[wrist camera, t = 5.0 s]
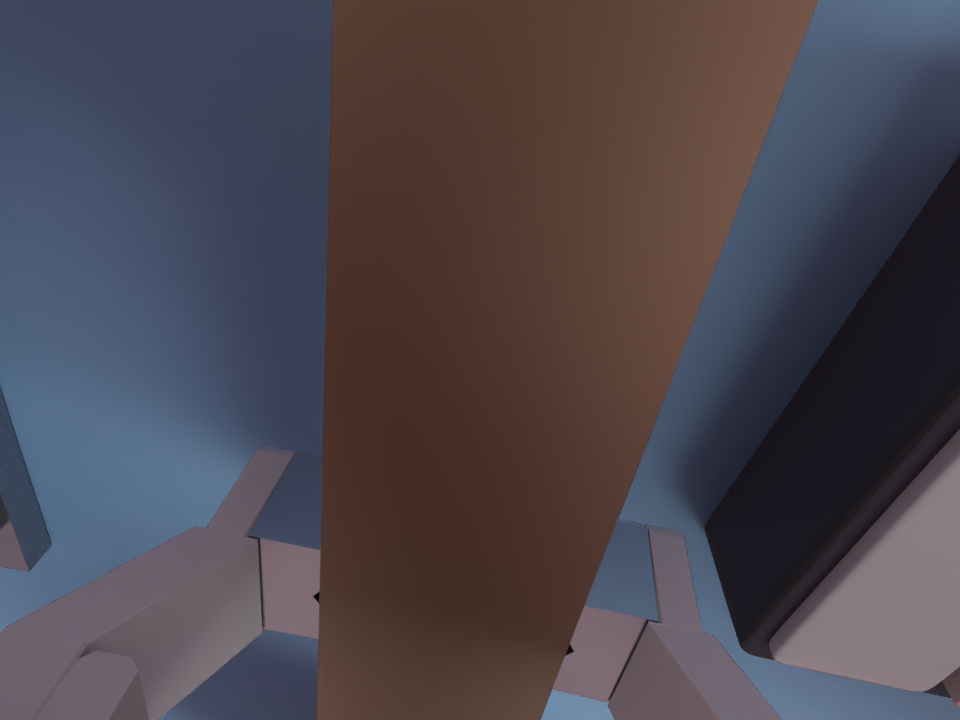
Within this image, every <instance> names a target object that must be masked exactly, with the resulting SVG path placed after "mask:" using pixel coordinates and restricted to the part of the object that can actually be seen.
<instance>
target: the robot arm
mask: <svg viewBox="0 0 960 720" xmlns="http://www.w3.org/2000/svg"><path fill="white" fill-rule="evenodd" d="M322 467H323V458H319V457H315V456H311V455H306V454H302V453H294V452H290V451H286V450H282V449H277V448H273V447H269V446H265V445H264V446H263V447H262V448H260V449H259V450H258V451H256V452H255V453H254V455H253V457H252V458H251V460H250V461H249V463H248V464H247V466H246V467H245V469H244V470H243V472H242V473H241V475H240V476H239V478H238V480H237V481H236V483H235V484H234V486H233V487H232V489H231V490H230V492H229V493H228V495H227V496H226V498H225V499H224V501H223V503H222V504H221V506H220V507H219V509H218V510H217V512H216V513H215V515H214V516H213V518H212V519H211V521H210V522H209V524H208V525H207V527H206V528H202V527H197V526H195V527H193V528H191V529H189V530H187V531H185V532H183V533H181V534H180V535H178V536H176V537H174V538H172V539H170V540H168V541H166V542H165V543H163V544H161V545H159V546H157V547H155V548H153V549H151V550H149V551H148V552H146V553H144V554H142V555H140V556H138V557H136V558H134V559H133V560H131V561H129V562H127V563H125V564H123V565H121V566H119V567H118V568H116V569H114V570H112V571H110V572H108V573H106V574H104V575H102V576H101V577H99V578H97V579H95V580H93V581H91V582H89V583H87V584H86V585H84V586H82V587H80V588H78V589H76V590H74V591H72V592H70V593H69V594H67V595H65V596H63V597H61V598H59V599H57V600H55V601H54V602H52V603H50V604H48V605H46V606H44V607H42V608H40V609H39V610H37V611H35V612H33V613H31V614H29V615H27V616H25V617H23V618H22V619H20V620H18V621H16V622H14V623H12V624H10V625H8V626H7V627H6V628H5V629H4V630H3V631H2V632H1V634H0V720H159V719H160V718H161V717H163V716H164V715H165V714H166V713H167V712H168V711H170V710H171V709H172V708H173V707H174V706H176V705H177V704H178V703H179V702H180V701H182V700H183V699H184V698H185V697H186V696H188V695H189V694H190V693H191V692H192V691H194V690H195V689H196V688H197V687H198V686H200V685H201V684H202V683H203V682H204V681H206V680H207V679H208V678H209V677H210V676H211V675H213V674H214V673H215V672H216V671H217V670H219V669H220V668H221V667H222V666H223V665H225V664H226V663H227V662H228V661H229V660H231V659H232V658H233V657H234V656H235V655H237V654H238V653H239V652H240V651H241V650H243V649H244V648H245V647H246V646H247V645H248V644H250V643H251V642H252V641H253V640H254V639H256V638H257V637H258V636H259V635H260V634H262V629H266V630H271V631H277V632H282V633H288V634H293V635H299V636H304V637H310V638H315V639H318V637H319V594H320V552H321V509H322ZM553 689H554V690H558V691H562V692H567V693H571V694H575V695H579V696H583V697H587V698H591V699H595V700H600V701H604V702H608V703H609V704H608V707H609V709H610V711H611V713H612V715H613V717H614V719H615V720H782V719H781V717H780V716H779V715H778V714H777V713H776V711H775V710H774V709H773V708H772V706H771V705H770V704H769V703H768V701H767V700H766V699H765V698H764V697H763V695H762V694H761V693H760V692H759V690H758V689H757V688H756V687H755V685H754V684H753V683H752V682H751V681H750V679H749V678H748V677H747V676H746V674H745V673H744V672H743V671H742V669H741V668H740V667H739V666H738V665H737V663H736V662H735V661H734V660H733V658H732V657H731V656H730V655H729V653H728V652H727V651H726V650H725V649H724V647H723V646H722V645H721V644H720V642H719V641H718V640H717V639H716V637H715V636H714V635H711V634H707V633H703V632H702V628H701V622H700V617H699V612H698V606H697V601H696V596H695V590H694V585H693V580H692V575H691V569H690V564H689V559H688V553H687V548H686V543H685V538H684V536H683V534H682V533H681V532H680V531H677V530H672V529H667V528H661V527H656V526H651V525H646V524H645V525H643V524H640V523H635V522H630V521H625V520H620V519H618V520H617V523H616V525H615V528H614V530H613V533H612V536H611V538H610V541H609V543H608V546H607V549H606V551H605V554H604V556H603V559H602V562H601V564H600V567H599V569H598V572H597V575H596V577H595V580H594V582H593V585H592V587H591V590H590V593H589V595H588V598H587V600H586V603H585V606H584V608H583V611H582V613H581V616H580V619H579V621H578V624H577V626H576V629H575V632H574V634H573V637H572V639H571V642H570V644H569V647H568V650H567V652H566V655H565V657H564V660H563V663H562V665H561V668H560V670H559V673H558V676H557V678H556V681H555V683H554V686H553Z"/></svg>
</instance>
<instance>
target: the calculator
mask: <svg viewBox="0 0 960 720" xmlns="http://www.w3.org/2000/svg"><path fill="white" fill-rule="evenodd" d="M705 532H706V536H707V539H708V543H709V546H710V549H711V553H712V556H713V559H714V563H715V566H716V569H717V573H718V576H719V579H720V583H721V586H722V589H723V592H724V596H725V599H726V602H727V606H728V609H729V612H730V616H731V619H732V622H733V625H734V628H735V632H736V635H737V638H738V641H739V644H740V646H741V648H742V649H743V650H744V651H745V652H747V653H748V654H751V655H754V656H758V657H762V658H767V659H772V660H776V661H778V662H780V663H783V664H787V665H791V666H796V667H801V668H805V669H810V670H815V671H819V672H824V673H829V674H833V675H838V676H843V677H847V678H852V679H857V680H861V681H866V682H871V683H875V684H880V685H885V686H889V687H894V688H899V689H903V690H908V691H916V692H925V693H930V694H935V695H939V696H944V697H949V698H952V700H953V702H954V704H955V705H956V706H957V707H959V708H960V156H959V157H958V158H957V160H956V161H955V163H954V164H953V166H952V167H951V169H950V170H949V171H948V173H947V174H946V176H945V177H944V179H943V180H942V182H941V183H940V185H939V186H938V187H937V189H936V190H935V192H934V193H933V195H932V196H931V198H930V199H929V200H928V202H927V203H926V205H925V206H924V208H923V209H922V211H921V212H920V214H919V215H918V216H917V218H916V219H915V221H914V222H913V224H912V225H911V227H910V228H909V230H908V231H907V232H906V234H905V235H904V237H903V238H902V240H901V241H900V243H899V244H898V246H897V247H896V248H895V250H894V251H893V253H892V254H891V256H890V257H889V259H888V260H887V262H886V263H885V264H884V266H883V267H882V269H881V270H880V272H879V273H878V275H877V276H876V277H875V279H874V280H873V282H872V283H871V285H870V286H869V288H868V289H867V291H866V292H865V293H864V295H863V296H862V298H861V299H860V301H859V302H858V304H857V305H856V307H855V308H854V309H853V311H852V312H851V314H850V315H849V317H848V318H847V320H846V321H845V323H844V324H843V325H842V327H841V328H840V330H839V331H838V333H837V334H836V336H835V337H834V339H833V340H832V341H831V343H830V344H829V346H828V347H827V349H826V350H825V352H824V353H823V355H822V356H821V357H820V359H819V360H818V362H817V363H816V365H815V366H814V368H813V369H812V371H811V372H810V373H809V375H808V376H807V378H806V379H805V381H804V382H803V384H802V385H801V387H800V388H799V389H798V391H797V392H796V394H795V395H794V397H793V398H792V400H791V401H790V402H789V404H788V405H787V407H786V408H785V410H784V411H783V413H782V414H781V416H780V417H779V418H778V420H777V421H776V423H775V424H774V426H773V427H772V429H771V430H770V432H769V433H768V434H767V436H766V437H765V439H764V440H763V442H762V443H761V445H760V446H759V448H758V449H757V450H756V452H755V453H754V455H753V456H752V458H751V459H750V461H749V462H748V464H747V465H746V466H745V468H744V469H743V471H742V472H741V474H740V475H739V477H738V478H737V480H736V481H735V482H734V484H733V485H732V487H731V488H730V490H729V491H728V493H727V494H726V496H725V497H724V498H723V500H722V501H721V503H720V504H719V506H718V507H717V509H716V510H715V512H714V513H713V514H712V516H711V517H710V519H709V520H708V522H707V524H706V526H705Z"/></svg>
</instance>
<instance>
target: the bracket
mask: <svg viewBox="0 0 960 720" xmlns="http://www.w3.org/2000/svg"><path fill="white" fill-rule="evenodd" d="M50 547H51V542H50V539H49V536H48V533H47V530H46V527H45V524H44V521H43V518H42V515H41V512H40V509H39V506H38V503H37V500H36V497H35V494H34V491H33V488H32V484H31V481H30V478H29V475H28V472H27V469H26V466H25V463H24V460H23V457H22V454H21V451H20V448H19V445H18V442H17V439H16V436H15V433H14V430H13V427H12V424H11V421H10V417H9V414H8V411H7V408H6V405H5V402H4V399H3V396H2V393H1V390H0V566H1V567H6V568H11V569H17V570H22V571H27V572H30V570H31V569H32V568H33V567H34V566H35V564H36V563H37V562H38V561H39V560H40V558H41V557H42V556H43V555H44V554H45V552H46V551H47V550H48V549H49V548H50Z"/></svg>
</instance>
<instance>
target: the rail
mask: <svg viewBox="0 0 960 720" xmlns="http://www.w3.org/2000/svg"><path fill="white" fill-rule="evenodd" d="M817 2H818V0H333V41H332V83H331V126H330V169H329V211H328V254H327V296H326V339H325V382H324V424H323V467H322V509H321V552H320V594H319V637H318V680H317V720H541V717H542V714H543V712H544V709H545V707H546V704H547V701H548V699H549V696H550V694H551V691H552V689H553V686H554V683H555V681H556V678H557V676H558V673H559V670H560V668H561V665H562V663H563V660H564V657H565V655H566V652H567V650H568V647H569V644H570V642H571V639H572V637H573V634H574V632H575V629H576V626H577V624H578V621H579V619H580V616H581V613H582V611H583V608H584V606H585V603H586V600H587V598H588V595H589V593H590V590H591V587H592V585H593V582H594V580H595V577H596V575H597V572H598V569H599V567H600V564H601V562H602V559H603V556H604V554H605V551H606V549H607V546H608V543H609V541H610V538H611V536H612V533H613V530H614V528H615V525H616V523H617V520H618V518H619V515H620V512H621V510H622V507H623V505H624V502H625V499H626V497H627V494H628V492H629V489H630V486H631V484H632V481H633V479H634V476H635V473H636V471H637V468H638V466H639V463H640V461H641V458H642V455H643V453H644V450H645V448H646V445H647V442H648V440H649V437H650V435H651V432H652V429H653V427H654V424H655V422H656V419H657V416H658V414H659V411H660V409H661V406H662V404H663V401H664V398H665V396H666V393H667V391H668V388H669V385H670V383H671V380H672V378H673V375H674V372H675V370H676V367H677V365H678V362H679V359H680V357H681V354H682V352H683V349H684V347H685V344H686V341H687V339H688V336H689V334H690V331H691V328H692V326H693V323H694V321H695V318H696V315H697V313H698V310H699V308H700V305H701V302H702V300H703V297H704V295H705V292H706V290H707V287H708V284H709V282H710V279H711V277H712V274H713V271H714V269H715V266H716V264H717V261H718V258H719V256H720V253H721V251H722V248H723V245H724V243H725V240H726V238H727V235H728V233H729V230H730V227H731V225H732V222H733V220H734V217H735V214H736V212H737V209H738V207H739V204H740V201H741V199H742V196H743V194H744V191H745V188H746V186H747V183H748V181H749V178H750V176H751V173H752V170H753V168H754V165H755V163H756V160H757V157H758V155H759V152H760V150H761V147H762V144H763V142H764V139H765V137H766V134H767V131H768V129H769V126H770V124H771V121H772V119H773V116H774V113H775V111H776V108H777V106H778V103H779V100H780V98H781V95H782V93H783V90H784V87H785V85H786V82H787V80H788V77H789V74H790V72H791V69H792V67H793V64H794V62H795V59H796V56H797V54H798V51H799V49H800V46H801V43H802V41H803V38H804V36H805V33H806V30H807V28H808V25H809V23H810V20H811V17H812V15H813V12H814V10H815V7H816V5H817Z"/></svg>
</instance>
